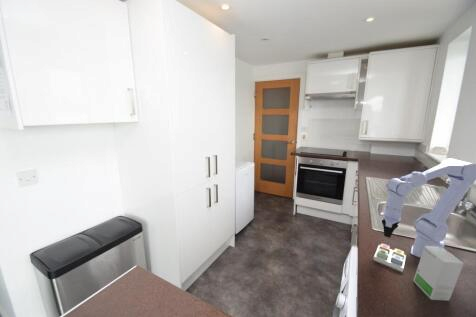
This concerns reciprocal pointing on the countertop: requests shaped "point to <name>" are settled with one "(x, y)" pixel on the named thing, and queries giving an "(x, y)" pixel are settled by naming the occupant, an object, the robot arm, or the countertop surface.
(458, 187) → the robot arm
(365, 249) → the countertop surface
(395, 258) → the key slate
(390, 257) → the keypad board
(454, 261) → the skincare box
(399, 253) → the key mustard
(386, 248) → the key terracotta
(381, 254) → the key sage
